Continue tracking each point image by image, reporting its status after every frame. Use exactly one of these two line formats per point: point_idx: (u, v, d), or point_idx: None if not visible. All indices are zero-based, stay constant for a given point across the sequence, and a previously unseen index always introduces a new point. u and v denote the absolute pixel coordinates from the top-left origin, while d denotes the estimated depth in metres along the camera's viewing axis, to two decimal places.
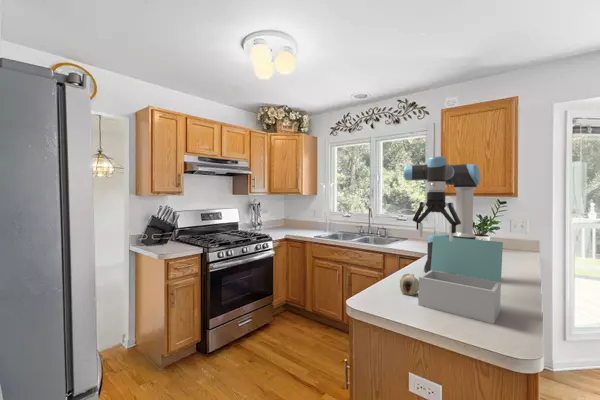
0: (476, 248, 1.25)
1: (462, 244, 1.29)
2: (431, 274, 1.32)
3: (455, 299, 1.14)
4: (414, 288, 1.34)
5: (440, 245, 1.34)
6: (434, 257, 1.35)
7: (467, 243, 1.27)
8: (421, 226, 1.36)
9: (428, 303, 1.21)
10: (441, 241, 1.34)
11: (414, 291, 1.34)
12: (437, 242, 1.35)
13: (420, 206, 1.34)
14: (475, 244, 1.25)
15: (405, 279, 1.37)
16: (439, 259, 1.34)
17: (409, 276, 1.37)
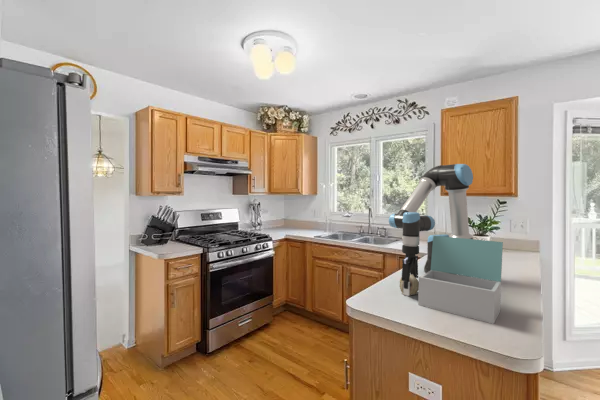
0: (476, 248, 1.25)
1: (462, 244, 1.29)
2: (431, 274, 1.32)
3: (455, 299, 1.14)
4: (414, 288, 1.34)
5: (440, 245, 1.34)
6: (434, 257, 1.35)
7: (467, 243, 1.27)
8: None
9: (428, 303, 1.21)
10: (441, 241, 1.34)
11: (414, 291, 1.34)
12: (437, 242, 1.35)
13: None
14: (475, 244, 1.25)
15: None
16: (439, 259, 1.34)
17: None
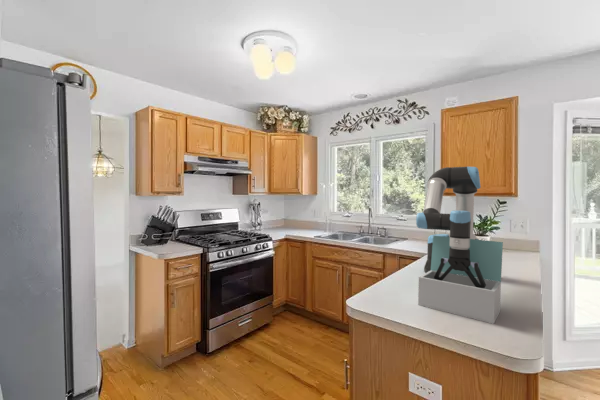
0: (476, 248, 1.25)
1: None
2: (431, 274, 1.32)
3: (455, 299, 1.14)
4: None
5: (440, 245, 1.34)
6: (434, 257, 1.35)
7: None
8: None
9: (428, 303, 1.21)
10: (441, 241, 1.34)
11: None
12: (437, 242, 1.35)
13: (441, 263, 1.24)
14: (475, 244, 1.25)
15: None
16: (439, 259, 1.34)
17: None
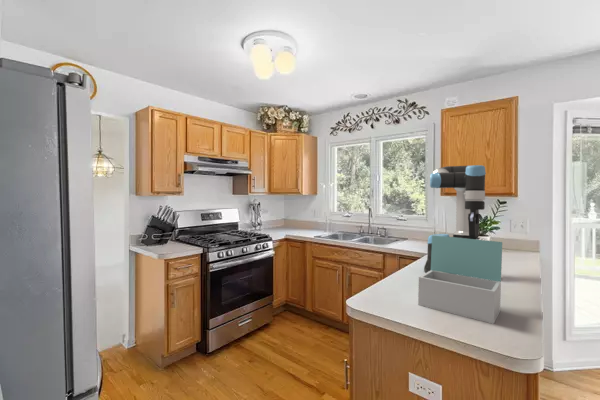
0: (475, 248, 1.24)
1: (461, 244, 1.28)
2: (431, 274, 1.32)
3: (455, 299, 1.14)
4: None
5: (440, 245, 1.33)
6: (434, 257, 1.35)
7: (466, 243, 1.26)
8: None
9: (428, 303, 1.21)
10: (440, 241, 1.33)
11: None
12: (436, 242, 1.34)
13: None
14: (475, 244, 1.24)
15: None
16: (439, 259, 1.33)
17: None
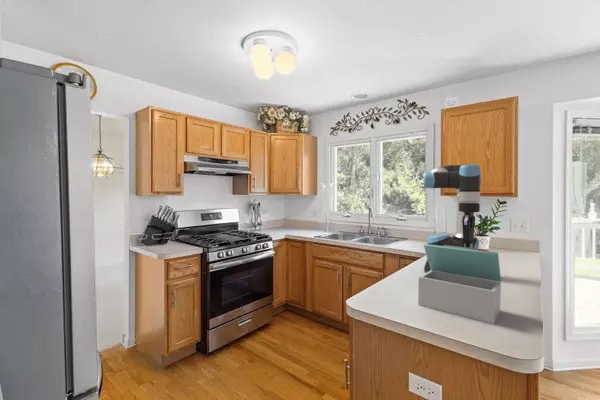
0: (471, 257, 1.18)
1: (456, 253, 1.21)
2: (431, 274, 1.32)
3: (455, 299, 1.14)
4: None
5: (434, 253, 1.27)
6: (431, 261, 1.32)
7: (461, 253, 1.19)
8: None
9: (428, 303, 1.21)
10: (434, 250, 1.26)
11: None
12: (430, 251, 1.28)
13: None
14: (469, 254, 1.17)
15: None
16: (436, 263, 1.30)
17: None
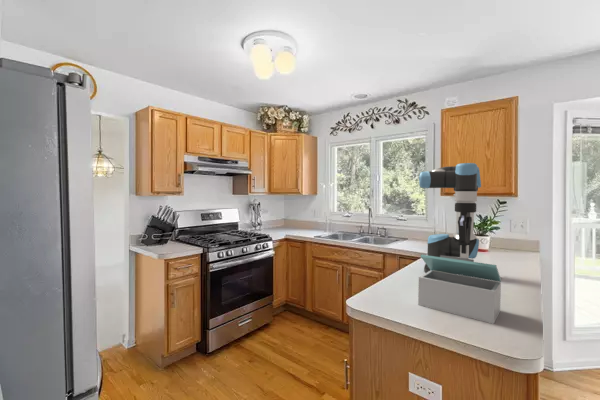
0: (469, 266, 1.16)
1: (454, 263, 1.18)
2: (431, 274, 1.32)
3: (455, 299, 1.14)
4: None
5: (432, 261, 1.25)
6: (430, 265, 1.31)
7: (458, 263, 1.17)
8: None
9: (428, 303, 1.21)
10: (431, 260, 1.24)
11: None
12: (427, 260, 1.25)
13: None
14: (467, 265, 1.15)
15: None
16: (435, 266, 1.29)
17: None
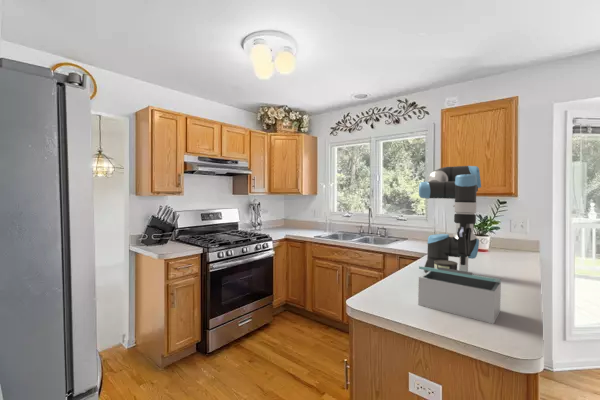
0: None
1: None
2: (431, 274, 1.32)
3: (455, 299, 1.14)
4: None
5: None
6: None
7: None
8: None
9: (428, 303, 1.21)
10: None
11: None
12: None
13: None
14: None
15: None
16: None
17: None
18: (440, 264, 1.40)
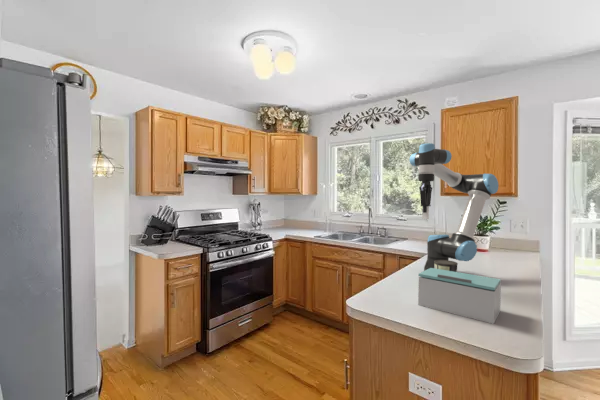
0: None
1: None
2: None
3: (455, 299, 1.14)
4: None
5: None
6: None
7: None
8: None
9: (428, 303, 1.21)
10: None
11: None
12: None
13: None
14: None
15: None
16: None
17: None
18: (440, 264, 1.40)
